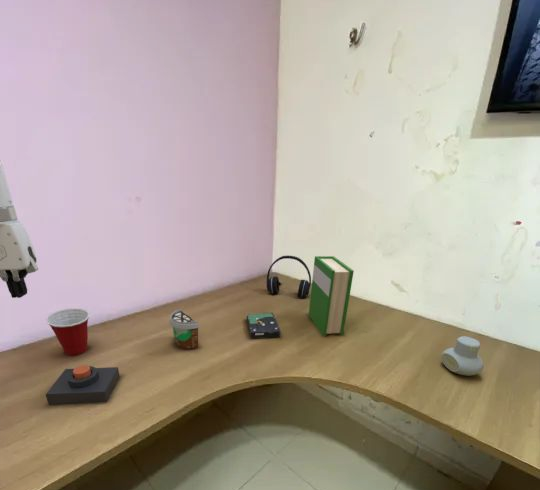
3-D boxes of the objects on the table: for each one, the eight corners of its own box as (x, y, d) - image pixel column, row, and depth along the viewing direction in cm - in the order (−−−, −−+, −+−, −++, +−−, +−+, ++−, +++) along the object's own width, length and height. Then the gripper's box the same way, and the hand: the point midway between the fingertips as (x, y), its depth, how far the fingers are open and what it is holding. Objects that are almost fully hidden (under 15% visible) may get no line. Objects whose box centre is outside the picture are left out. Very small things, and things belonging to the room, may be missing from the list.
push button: (71, 380, 75) (70, 374, 74) (78, 371, 78) (76, 365, 77) (87, 379, 75) (86, 373, 74) (93, 370, 78) (92, 364, 78)
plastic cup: (68, 365, 87) (58, 327, 82) (48, 353, 92) (37, 317, 87) (104, 348, 96) (97, 313, 91) (84, 338, 101) (76, 304, 96)
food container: (165, 339, 102) (162, 312, 98) (182, 334, 106) (180, 307, 102) (182, 356, 94) (179, 327, 90) (200, 349, 98) (198, 321, 93)
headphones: (264, 294, 142) (266, 255, 134) (268, 289, 148) (270, 252, 140) (308, 300, 138) (312, 260, 130) (310, 295, 144) (314, 256, 136)
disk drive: (280, 338, 107) (272, 318, 120) (281, 330, 106) (272, 311, 119) (250, 339, 105) (246, 319, 118) (251, 332, 104) (246, 313, 117)
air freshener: (484, 379, 90) (497, 349, 86) (460, 381, 88) (471, 352, 84) (457, 358, 99) (466, 331, 95) (434, 360, 98) (443, 332, 94)
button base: (48, 404, 73) (43, 388, 71) (68, 378, 82) (63, 363, 80) (107, 402, 75) (103, 385, 73) (119, 376, 84) (116, 361, 82)
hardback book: (343, 335, 110) (353, 270, 100) (323, 336, 109) (332, 270, 99) (326, 314, 126) (333, 256, 116) (308, 314, 124) (314, 256, 114)
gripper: (-61, 217, 61) (-27, 302, 69) (22, 219, 63) (45, 301, 71) (-33, 212, 68) (-5, 290, 76) (41, 213, 70) (61, 289, 78)
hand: (19, 295), depth 73 cm, fingers closed
